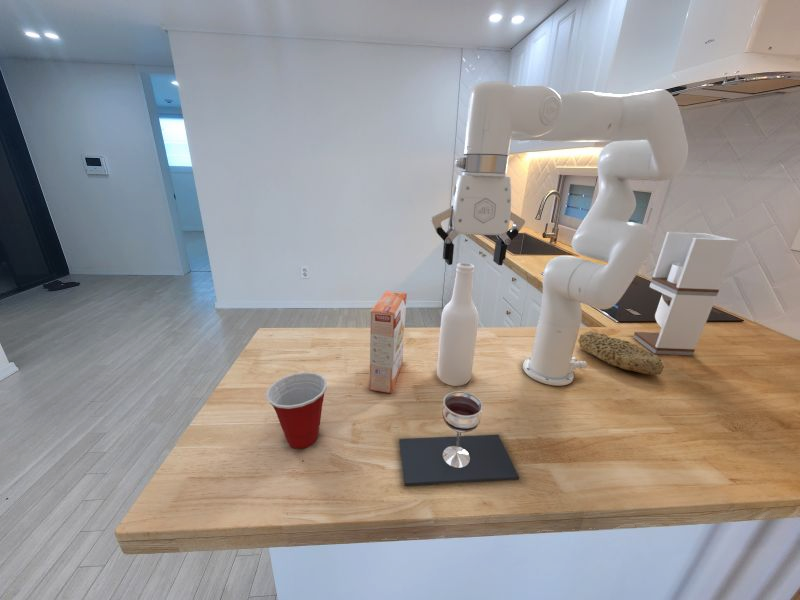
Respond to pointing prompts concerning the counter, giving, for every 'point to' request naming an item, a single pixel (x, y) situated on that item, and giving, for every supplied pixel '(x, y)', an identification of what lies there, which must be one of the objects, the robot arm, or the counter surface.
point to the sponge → (621, 353)
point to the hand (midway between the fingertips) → (473, 263)
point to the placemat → (430, 467)
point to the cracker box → (387, 340)
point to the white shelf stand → (686, 289)
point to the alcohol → (458, 331)
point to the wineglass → (460, 423)
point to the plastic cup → (298, 406)
